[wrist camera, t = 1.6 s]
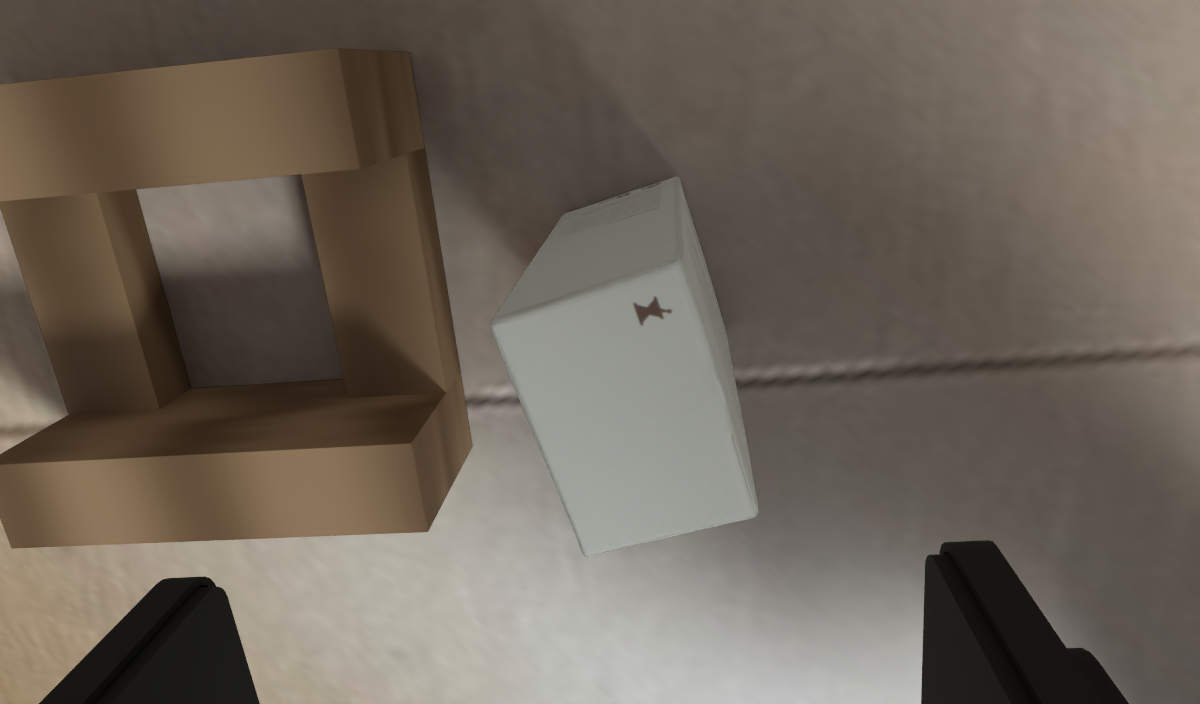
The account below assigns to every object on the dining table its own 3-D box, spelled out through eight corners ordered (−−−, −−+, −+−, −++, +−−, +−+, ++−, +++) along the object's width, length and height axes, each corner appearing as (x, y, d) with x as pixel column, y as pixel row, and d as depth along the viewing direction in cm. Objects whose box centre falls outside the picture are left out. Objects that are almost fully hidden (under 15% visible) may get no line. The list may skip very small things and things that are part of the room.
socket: (409, 52, 26) (337, 48, 21) (472, 446, 31) (427, 531, 25) (11, 94, 28) (-158, 101, 22) (127, 464, 32) (11, 548, 27)
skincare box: (558, 212, 28) (480, 314, 16) (679, 173, 27) (686, 250, 16) (615, 373, 29) (580, 566, 18) (730, 340, 29) (769, 519, 17)
